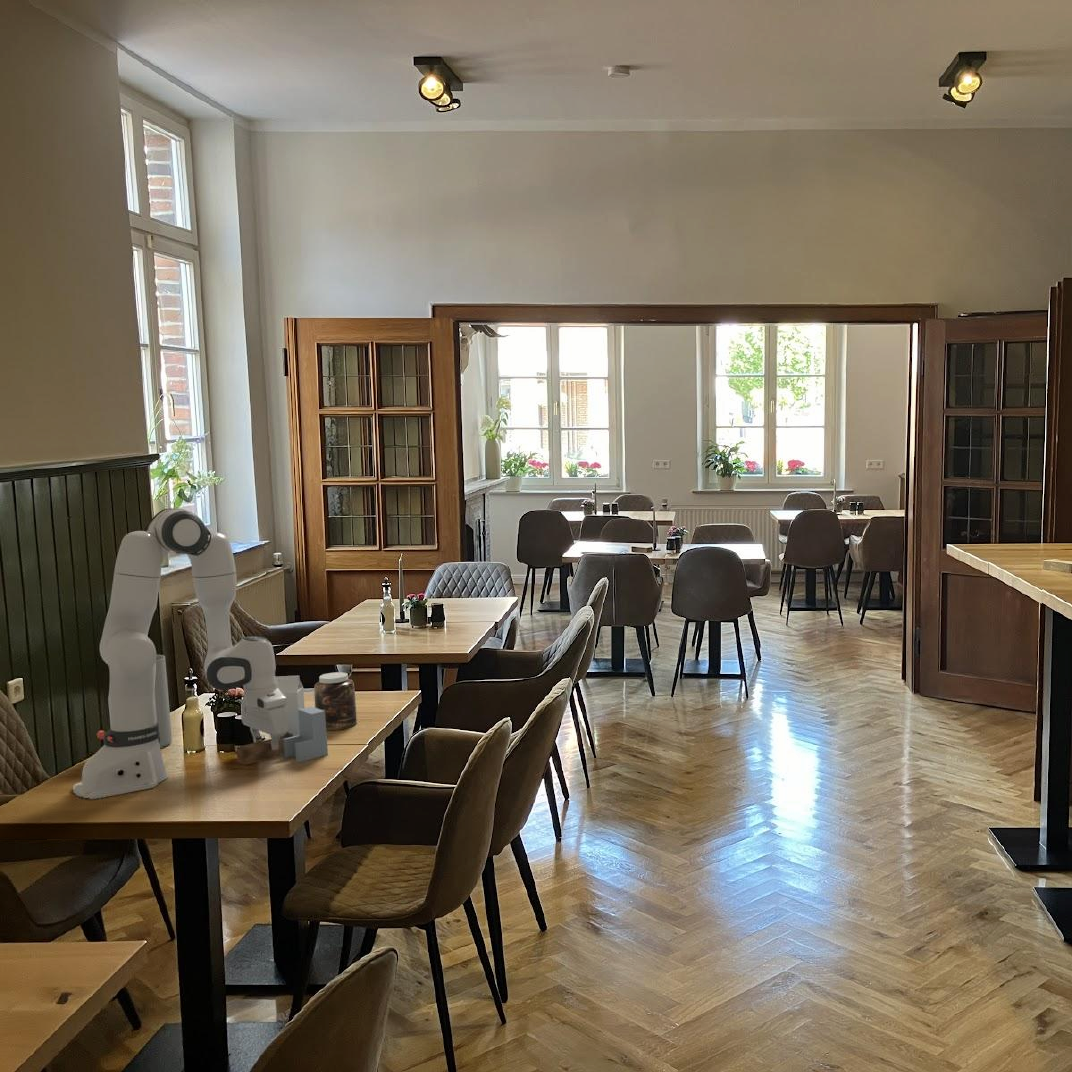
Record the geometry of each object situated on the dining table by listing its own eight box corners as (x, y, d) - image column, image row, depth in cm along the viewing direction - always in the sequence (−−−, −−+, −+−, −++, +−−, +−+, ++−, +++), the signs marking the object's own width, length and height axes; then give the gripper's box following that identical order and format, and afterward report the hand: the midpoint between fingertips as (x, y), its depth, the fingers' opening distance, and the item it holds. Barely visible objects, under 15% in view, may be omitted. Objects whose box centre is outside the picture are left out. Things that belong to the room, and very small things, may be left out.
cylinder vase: (123, 744, 307) (115, 658, 305) (168, 736, 313) (161, 652, 310) (128, 754, 296) (120, 666, 294) (175, 746, 302) (168, 659, 299)
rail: (243, 764, 282) (242, 746, 281) (237, 761, 284) (236, 743, 284) (293, 751, 291) (292, 734, 291) (287, 749, 294) (286, 731, 293)
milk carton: (300, 745, 297) (296, 678, 295) (275, 746, 297) (270, 679, 295) (306, 738, 304) (302, 672, 302) (282, 739, 304) (277, 673, 302)
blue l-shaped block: (297, 762, 281) (294, 718, 280) (284, 757, 287) (281, 713, 285) (327, 754, 287) (324, 711, 286) (314, 749, 292) (311, 706, 291)
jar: (322, 720, 323) (318, 671, 321) (360, 719, 322) (357, 670, 321) (312, 731, 311) (308, 680, 309) (352, 730, 310) (348, 679, 309)
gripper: (233, 692, 292) (237, 741, 294) (268, 704, 277) (273, 756, 278) (254, 687, 296) (259, 736, 298) (290, 699, 281) (294, 750, 282)
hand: (266, 746), depth 288 cm, fingers open, 8 cm apart
